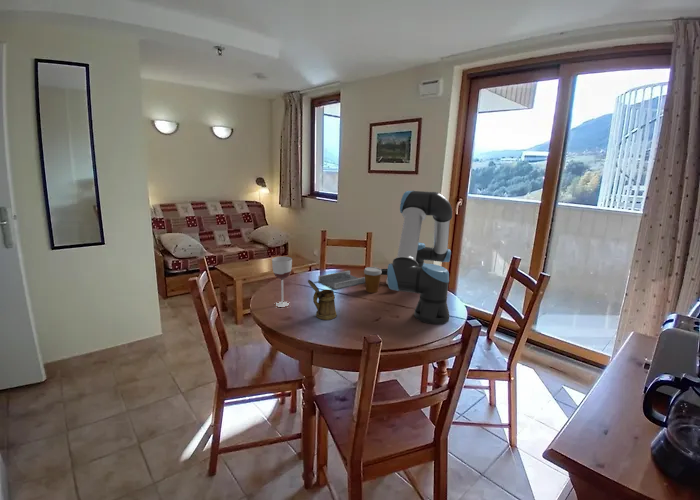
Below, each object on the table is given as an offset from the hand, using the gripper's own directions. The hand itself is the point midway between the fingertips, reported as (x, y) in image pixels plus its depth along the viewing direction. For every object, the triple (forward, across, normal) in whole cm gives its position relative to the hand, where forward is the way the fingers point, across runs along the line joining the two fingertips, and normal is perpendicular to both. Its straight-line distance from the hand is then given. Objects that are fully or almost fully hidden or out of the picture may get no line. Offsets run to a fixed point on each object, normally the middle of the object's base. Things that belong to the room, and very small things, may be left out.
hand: (377, 277), depth 194 cm
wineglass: (+53, +8, -7) cm, 54 cm away
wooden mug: (+45, -14, -7) cm, 48 cm away
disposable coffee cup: (+4, 0, -7) cm, 8 cm away
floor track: (+8, +20, -6) cm, 22 cm away
